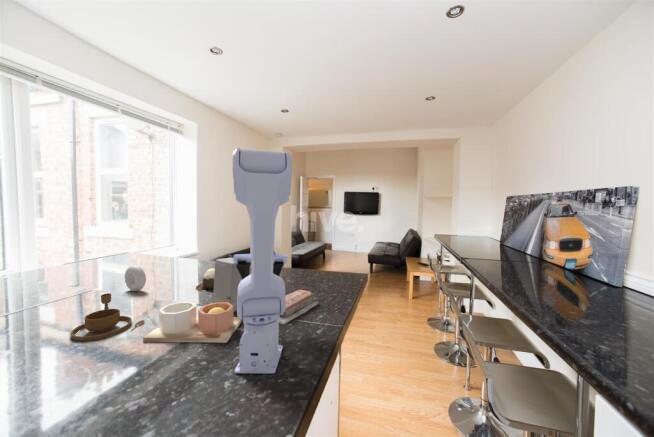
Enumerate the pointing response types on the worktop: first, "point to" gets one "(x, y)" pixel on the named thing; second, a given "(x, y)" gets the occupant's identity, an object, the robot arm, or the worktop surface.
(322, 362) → the worktop surface
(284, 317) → the packaged product
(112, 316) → the place setting
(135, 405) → the worktop surface
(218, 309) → the ball
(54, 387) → the worktop surface
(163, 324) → the tube white
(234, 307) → the skincare box
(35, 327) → the worktop surface
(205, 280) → the skull
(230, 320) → the terracotta octagonal bowl
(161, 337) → the rack board
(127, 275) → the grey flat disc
